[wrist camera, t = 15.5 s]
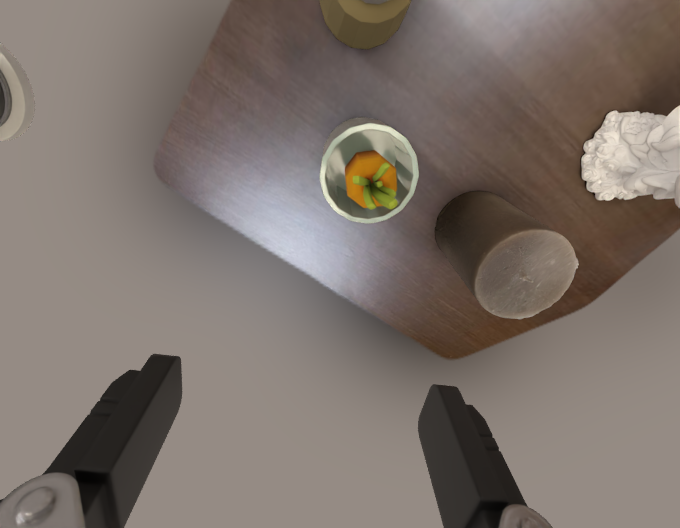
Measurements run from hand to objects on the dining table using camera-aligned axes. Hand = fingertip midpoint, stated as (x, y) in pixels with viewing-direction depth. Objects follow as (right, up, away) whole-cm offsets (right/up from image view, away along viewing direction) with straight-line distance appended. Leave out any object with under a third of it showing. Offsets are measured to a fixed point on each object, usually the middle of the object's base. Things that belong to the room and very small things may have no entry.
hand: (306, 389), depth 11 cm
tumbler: (+4, +16, +29) cm, 34 cm away
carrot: (+4, +16, +29) cm, 34 cm away
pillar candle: (+18, +9, +34) cm, 39 cm away
